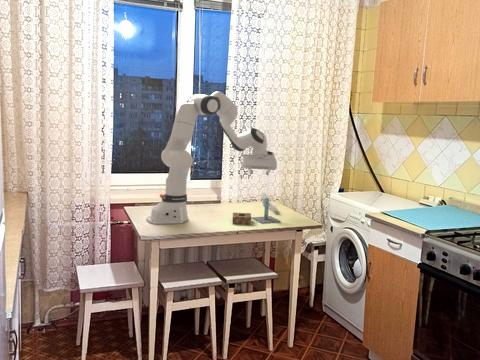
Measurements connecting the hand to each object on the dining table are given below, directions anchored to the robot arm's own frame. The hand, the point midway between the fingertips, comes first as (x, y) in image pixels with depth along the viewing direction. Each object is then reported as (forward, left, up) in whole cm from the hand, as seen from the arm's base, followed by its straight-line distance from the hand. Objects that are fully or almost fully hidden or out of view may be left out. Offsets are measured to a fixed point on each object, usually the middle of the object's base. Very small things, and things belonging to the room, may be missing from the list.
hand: (259, 174), depth 269 cm
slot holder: (-16, -13, -24) cm, 32 cm away
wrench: (+13, +11, -25) cm, 30 cm away
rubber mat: (-1, -13, -24) cm, 28 cm away
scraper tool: (-1, -13, -24) cm, 27 cm away
